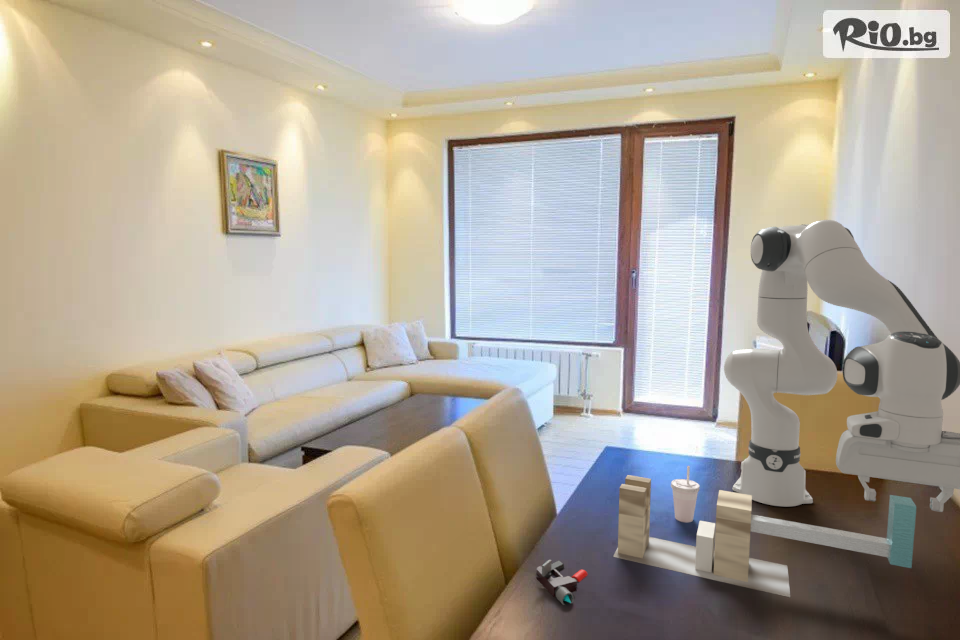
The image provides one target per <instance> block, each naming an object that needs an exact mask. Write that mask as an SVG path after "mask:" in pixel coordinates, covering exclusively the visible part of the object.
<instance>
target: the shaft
mask: <svg viewBox="0 0 960 640" xmlns="http://www.w3.org/2000/svg"><path fill="white" fill-rule="evenodd" d="M888 504H889V505H888V515H887V516H888V517H887V529H886V537H881V536H875V535H870V534H864V533H858V532H854V531H853V532H852V531H847V530H842V529H835V528H830V527H826V526H819V525H813V524H807V523H803V522H802V523H801V522H796V521H791V520H785V519H781V518H775V517H774V518H773V517H768V516H763V515H757V514H752V513H751V529H750V533H751V532H752V533H757V534H764V535H768V536H774V537H777V538H778V537H779V538H784V539H788V540H789V539H790V540H794V541H800V542H806V543H811V544H816V545H821V546H827V547H832V548H837V549H840V550H841V549H842V550H848V551H853V552H858V553H862V554H868V555H872V556H873V555H875V556H879V557H884V558H887V560H888V563H889V565H891V566H898V567H903V568H908V569H912V568H913V567H912V565H913V553H914V541H915V529H916V520H917V519H916V518H917V517H916V516H917V505H916V504H915V502H914V501H913V499H912V497H907V496H901V495H900V496H899V495H892V494H889V503H888Z"/></svg>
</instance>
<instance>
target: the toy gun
mask: <svg viewBox="0 0 960 640" xmlns="http://www.w3.org/2000/svg"><path fill="white" fill-rule="evenodd" d="M563 569H565V564H564V563H563V562H562V561H561V560H556V561H552V559H548V560H546V561H545V562H544V563H543V564H542V565H540V566H537V567H536V574H537V575H538V576H536V577H535V578H536V580H537V581H538V582H539V584H541V586H542V587H544V589H546V590H547V592H548V593H549V594H550V595H551V596H553V598H556V600H558V601H559V602H560V603H561V604H562V605H563V606H566V603H564V602H567V603H568V604H569V605H570V604H573V602H574V595H573V593H574V592H577V591H578V587H576V586H577V585H578V583H580V582H581V581H582V580H583V579H585V578H586V577H587V576H588V572H587V571H586V570H585V569H579V570H578V571H577V572H575V573H574V574H573V575H572V576H570V575H567V576H563V575H562V574H561V573H560V572H559V571H561V570H563ZM552 574H554V575H555V577H553V576H552Z"/></svg>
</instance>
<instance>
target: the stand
mask: <svg viewBox="0 0 960 640" xmlns="http://www.w3.org/2000/svg"><path fill="white" fill-rule="evenodd" d="M624 480H625V481H624V483H621V485H620V486H619V490H618V491H619V492H618V495H619V497H618V499H619V500H618V502H619V503H618V529H617V548H616V550H615V551H614V554H613V558H616V559H621V560H625V561H628V562H629V561H630V562H634V563H639V564H643V565H647V566H651V567H655V568H660V569H664V570H669V571H673V572H677V573H682V574H685V575H686V574H687V575H691V576H696V577H698V578H699V577H700V578H704V579H707V580H713V581H717V582H720V583H726V584H729V585H732V586H734V585H735V586H738V587H743V588H747V589H752V590H756V591H761V592H764V593H765V592H766V593H769V594H773V595H778V596H783V597H787V598H791V589H790V578H789V569H788V565H786V564H781V563H777V562H772V561H766V560H764V559H763V560H762V559H757V558H752V557H750V545H751V531H750V529H751V514H752V502H753V500H752V495H747V494H741V493H739V492H736V491H728V490H722V489H719V490H718V495H717V499H716V500H717V501H716V509H715V510H716V511H715V513H716V514H715V542H714V559H713V566H712V573H711V572H707V571H702V570H698V569H695V561H696V545H695V546H694V545H690V544H687V543H686V544H684V543H682V542H681V543H680V542H676V541H671V540H665V539H661V538H657V537H651V536H650V524H651V523H650V522H651V521H650V520H651V497H652V496H651V494H652V478H648V477H644V476H643V477H642V476H637V475H630V474H627V475H626V477H625V478H624Z"/></svg>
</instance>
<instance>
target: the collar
mask: <svg viewBox="0 0 960 640" xmlns="http://www.w3.org/2000/svg"><path fill="white" fill-rule="evenodd" d="M715 531H716V522H709V521H705V520H699V522H698V528H697V532H696V538H695V539H696V540H695V541H696V542H695V546H696V561H695V569H698V570H702V571H707V572H711V573H712V566H713V559H714V550H715Z"/></svg>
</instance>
